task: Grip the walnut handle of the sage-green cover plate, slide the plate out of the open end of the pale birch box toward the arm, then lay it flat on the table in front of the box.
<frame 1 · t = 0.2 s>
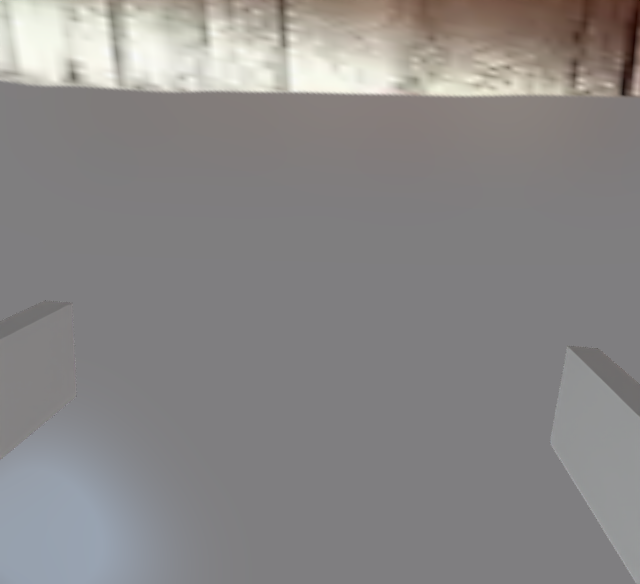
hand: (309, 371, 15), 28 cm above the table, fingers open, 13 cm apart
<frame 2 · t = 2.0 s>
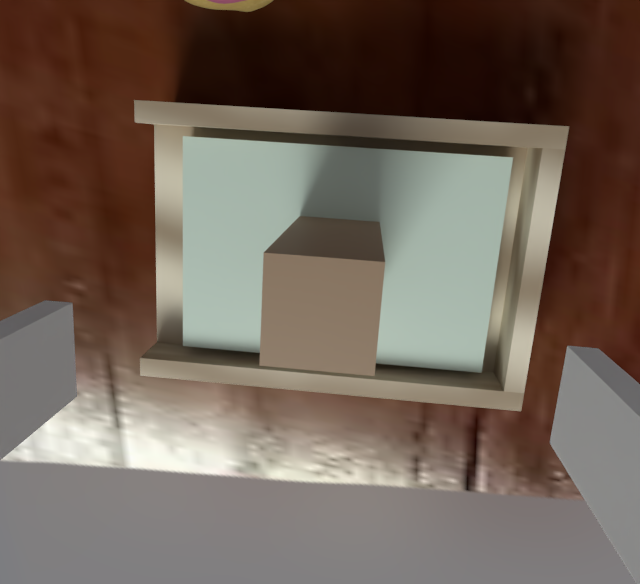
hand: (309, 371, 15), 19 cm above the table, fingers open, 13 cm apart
cover plate: (338, 252, 30), point 3 cm above the table, touching birch box
birch box: (341, 243, 33), on the table
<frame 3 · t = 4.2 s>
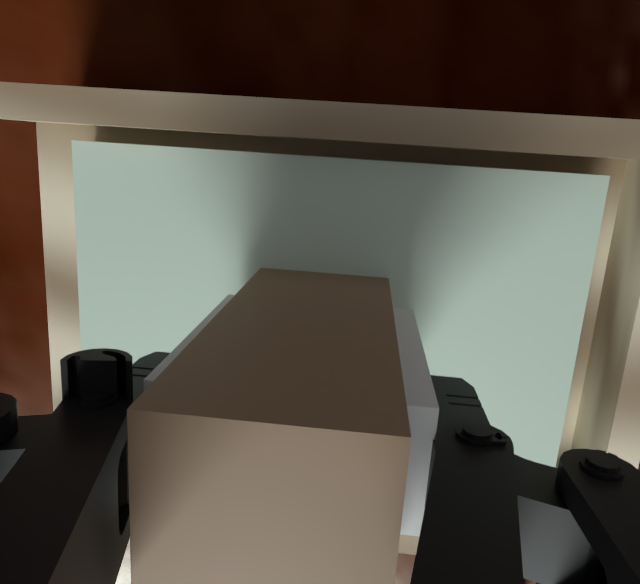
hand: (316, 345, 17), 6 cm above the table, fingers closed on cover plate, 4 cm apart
cover plate: (323, 320, 19), point 3 cm above the table, touching birch box, gripper
birch box: (330, 298, 22), on the table
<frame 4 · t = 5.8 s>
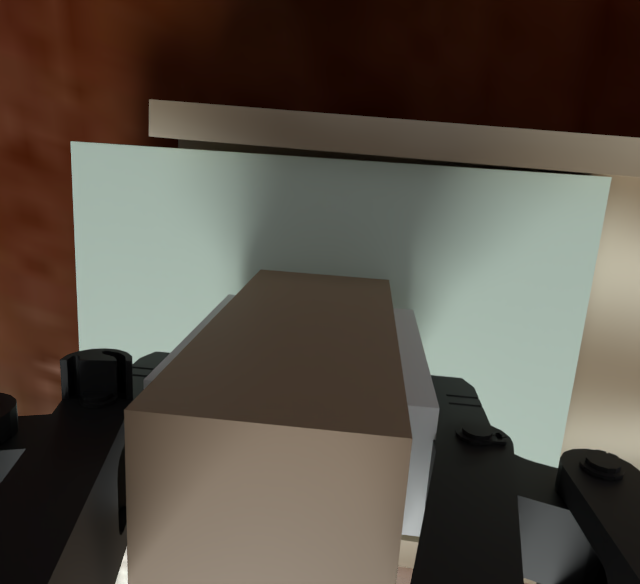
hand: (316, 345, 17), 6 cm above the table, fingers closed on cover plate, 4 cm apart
cover plate: (323, 322, 19), point 3 cm above the table, touching birch box, gripper
birch box: (449, 320, 22), on the table
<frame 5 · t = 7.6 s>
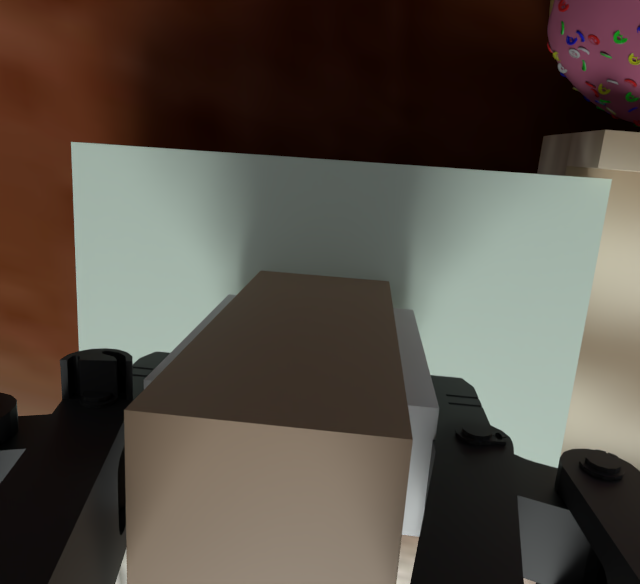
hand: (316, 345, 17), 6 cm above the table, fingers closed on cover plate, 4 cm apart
cover plate: (323, 323, 19), point 3 cm above the table, touching gripper
when the fingers open (4 cm above the table, at t = 9.9 s): cover plate drops 2 cm, on the table.
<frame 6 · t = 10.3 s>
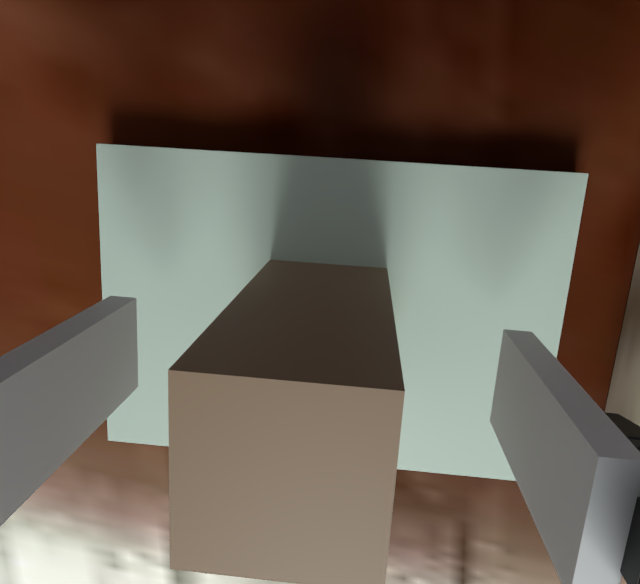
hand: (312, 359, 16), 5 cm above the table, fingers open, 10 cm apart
cover plate: (327, 308, 21), on the table
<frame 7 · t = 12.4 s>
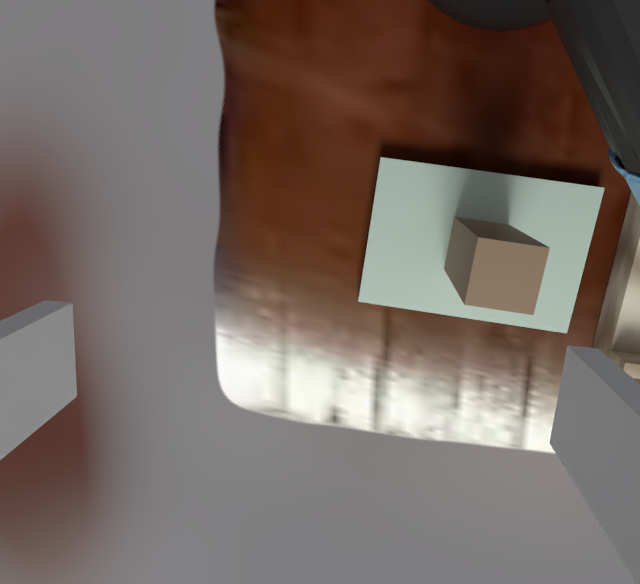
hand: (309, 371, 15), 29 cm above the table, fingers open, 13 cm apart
cover plate: (472, 243, 43), on the table
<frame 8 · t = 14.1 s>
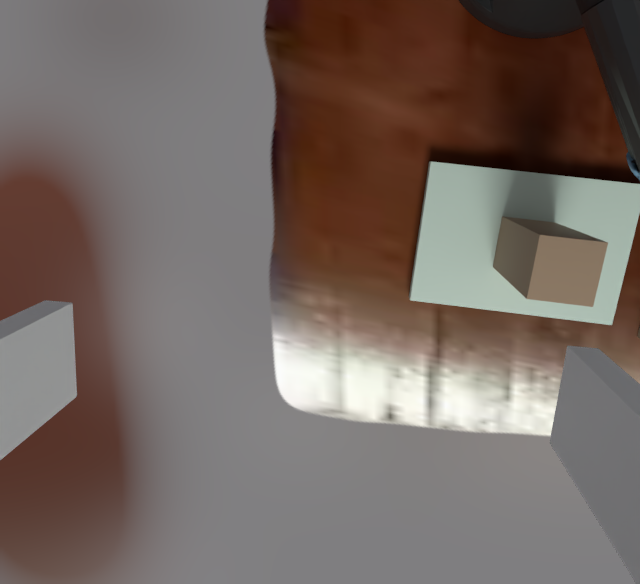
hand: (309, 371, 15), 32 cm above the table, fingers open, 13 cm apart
cover plate: (518, 242, 45), on the table
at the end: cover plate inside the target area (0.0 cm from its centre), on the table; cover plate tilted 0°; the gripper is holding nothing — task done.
